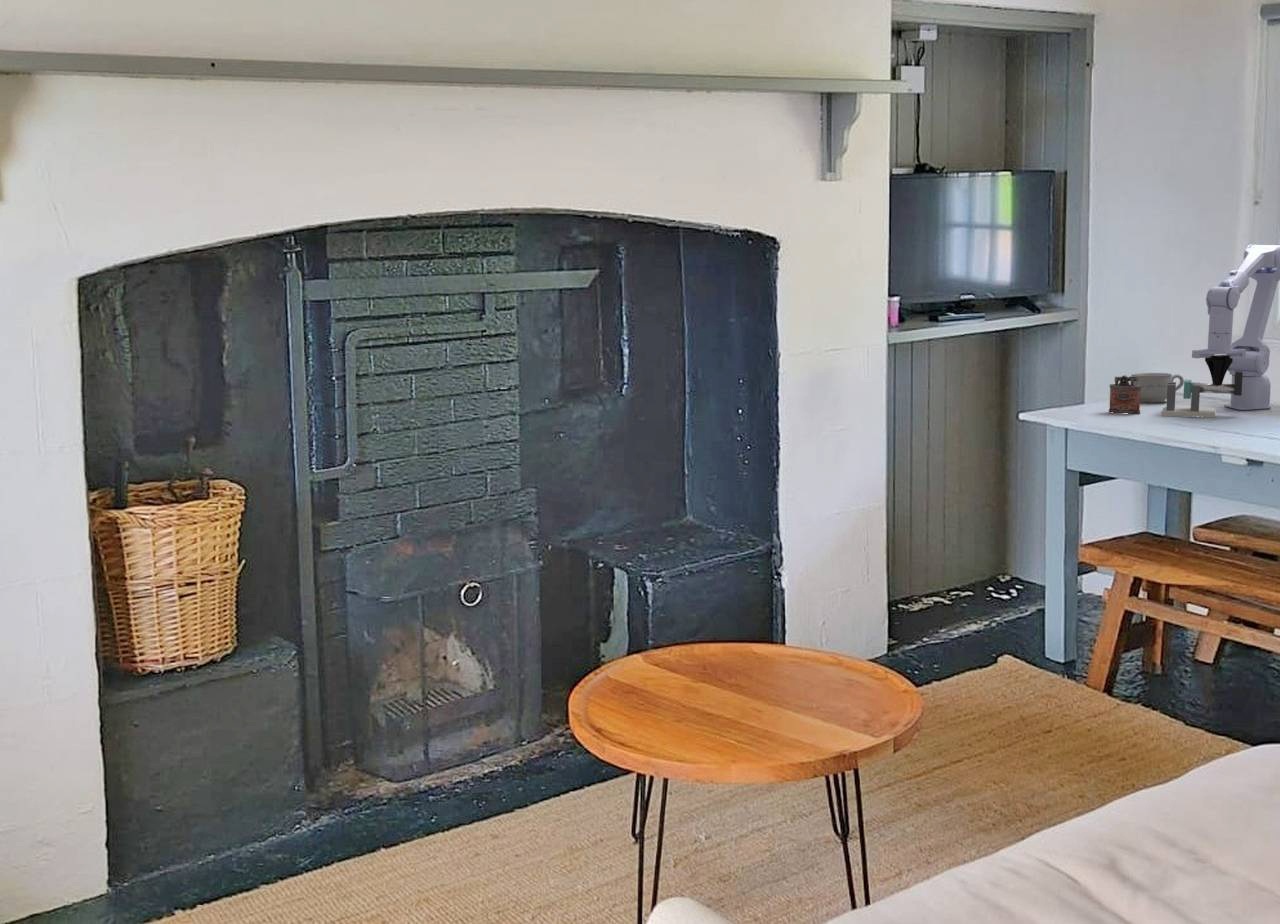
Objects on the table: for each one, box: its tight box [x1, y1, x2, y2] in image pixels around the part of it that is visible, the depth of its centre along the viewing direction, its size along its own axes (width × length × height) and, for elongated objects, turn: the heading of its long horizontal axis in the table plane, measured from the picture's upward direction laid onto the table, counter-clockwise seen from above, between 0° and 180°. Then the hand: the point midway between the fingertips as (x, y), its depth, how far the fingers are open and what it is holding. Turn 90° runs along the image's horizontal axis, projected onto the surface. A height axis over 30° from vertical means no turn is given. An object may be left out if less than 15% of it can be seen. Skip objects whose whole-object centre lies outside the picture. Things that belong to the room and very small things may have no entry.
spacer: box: [1183, 379, 1193, 400], centre depth 410 cm, size 2×4×4 cm, turn 160°
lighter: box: [1108, 374, 1141, 415], centre depth 413 cm, size 8×3×10 cm, turn 62°
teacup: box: [1131, 372, 1185, 403], centre depth 432 cm, size 14×11×8 cm
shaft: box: [1191, 371, 1243, 396], centre depth 407 cm, size 14×2×6 cm, turn 70°
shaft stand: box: [1161, 381, 1216, 418], centre depth 410 cm, size 13×9×8 cm
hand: (1217, 385), depth 407 cm, fingers closed, pressing on shaft
